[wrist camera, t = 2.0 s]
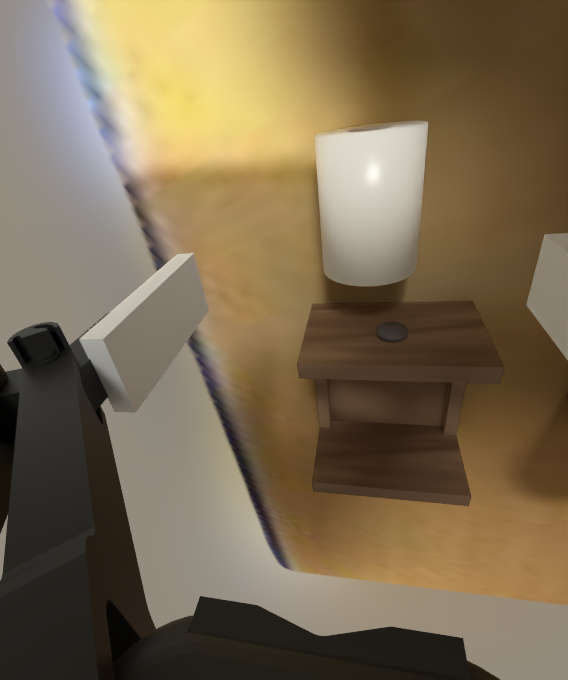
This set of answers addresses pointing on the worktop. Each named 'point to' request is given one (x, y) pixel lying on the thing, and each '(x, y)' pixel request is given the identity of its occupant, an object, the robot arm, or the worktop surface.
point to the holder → (394, 396)
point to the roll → (371, 200)
